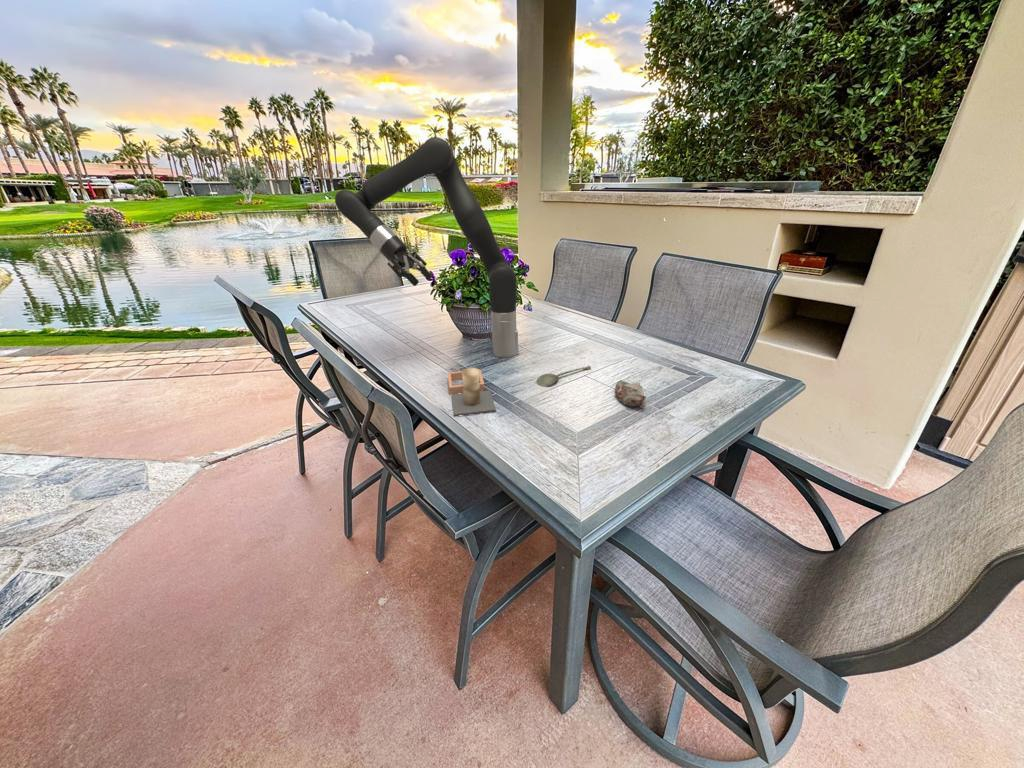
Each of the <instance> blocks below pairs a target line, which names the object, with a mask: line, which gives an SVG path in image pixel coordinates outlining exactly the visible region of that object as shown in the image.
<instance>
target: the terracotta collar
mask: <svg viewBox="0 0 1024 768" xmlns="http://www.w3.org/2000/svg"><path fill="white" fill-rule="evenodd" d="M478 370H479V382H480V383H479V384H480V391H482V390H485V391H486V388H485V387H486V386H485V382H484V378H483V375H482V371H481V369H480V368H479V369H478ZM447 379H448V388H449V395H450V394H458V393H464V392H463V384H458V385H457V384H456V385H453V382H452V381H458V380H457V379H460V380H463V378H462V370H461V371H453V372H452V371H450V372H447Z"/></svg>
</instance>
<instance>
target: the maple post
mask: <svg viewBox="0 0 1024 768" xmlns="http://www.w3.org/2000/svg"><path fill="white" fill-rule="evenodd" d="M461 371H462V378H463V379H462V385H463V392H464V403H465V404H466V405H470V406H473V405H477V404H479V403H480V384H479V369H478V368H477V367H467V368H464V369H462V370H461Z"/></svg>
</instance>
